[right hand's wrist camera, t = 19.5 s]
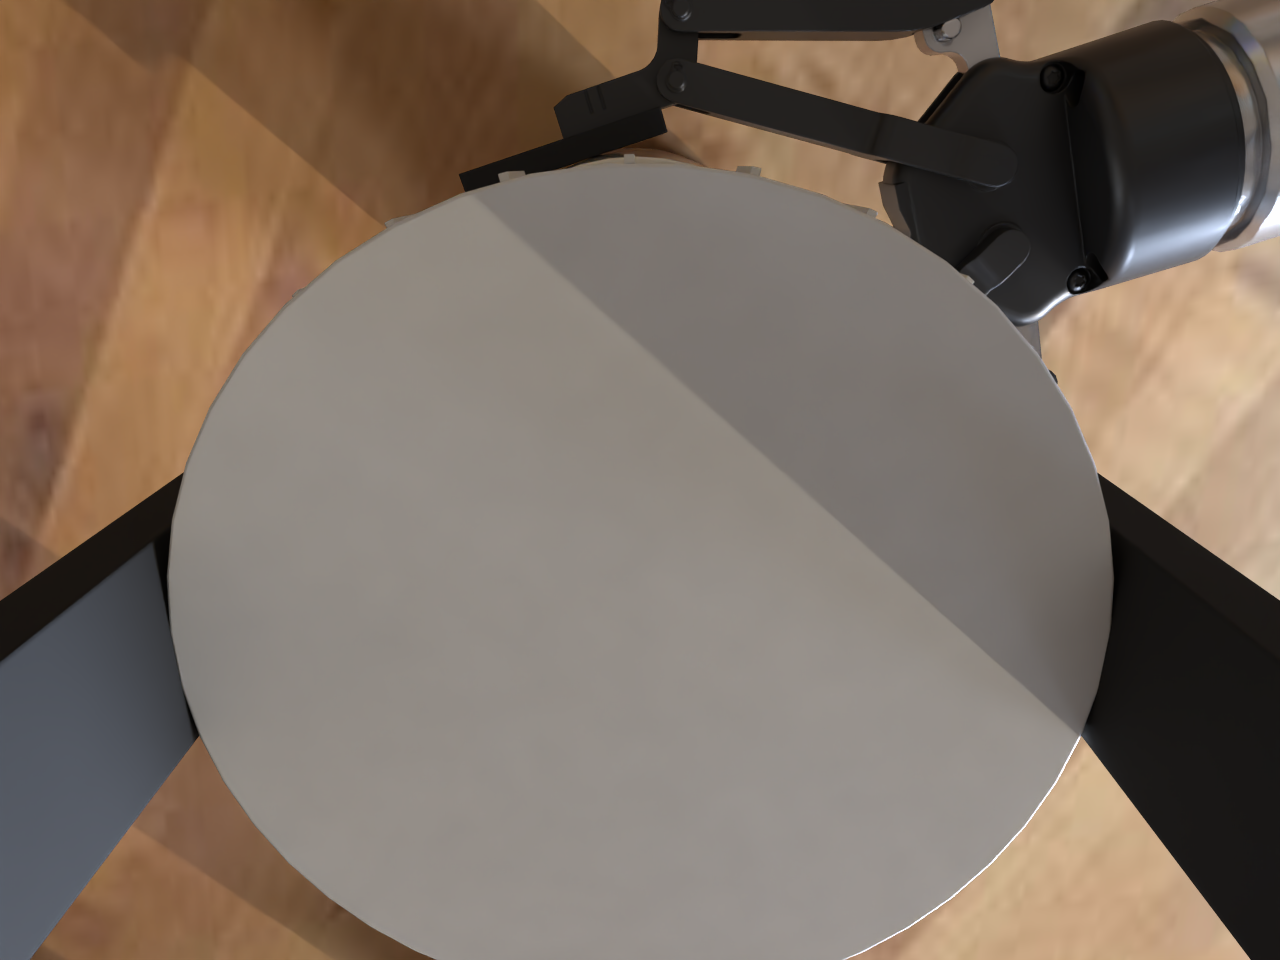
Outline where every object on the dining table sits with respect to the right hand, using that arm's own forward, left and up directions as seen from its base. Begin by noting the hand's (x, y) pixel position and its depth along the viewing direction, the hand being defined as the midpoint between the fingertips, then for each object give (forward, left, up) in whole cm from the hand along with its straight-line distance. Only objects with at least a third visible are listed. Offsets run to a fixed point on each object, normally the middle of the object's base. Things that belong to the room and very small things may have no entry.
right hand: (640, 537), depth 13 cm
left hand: (+2, +3, -18) cm, 18 cm away
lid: (0, 0, +3) cm, 3 cm away
